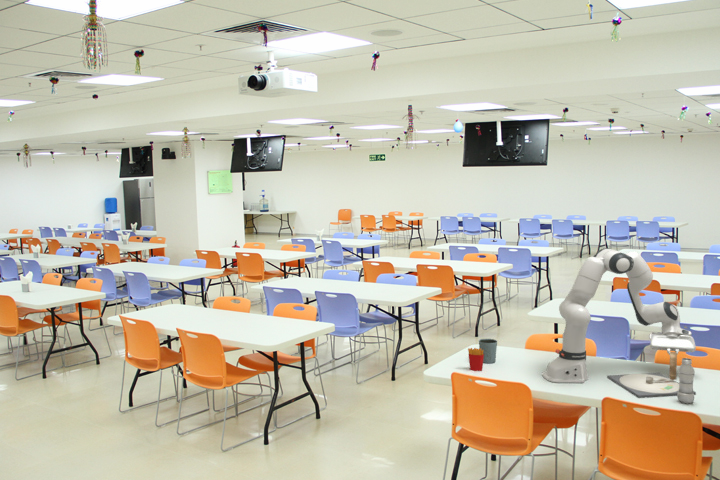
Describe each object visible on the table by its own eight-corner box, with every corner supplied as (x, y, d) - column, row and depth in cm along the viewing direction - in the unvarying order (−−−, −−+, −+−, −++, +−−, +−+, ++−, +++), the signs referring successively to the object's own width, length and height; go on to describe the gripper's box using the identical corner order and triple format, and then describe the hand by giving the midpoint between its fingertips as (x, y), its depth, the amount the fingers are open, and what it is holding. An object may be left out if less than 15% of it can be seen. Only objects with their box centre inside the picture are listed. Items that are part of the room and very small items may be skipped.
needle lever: (648, 383, 276) (649, 355, 275) (644, 381, 279) (645, 353, 278) (677, 381, 278) (678, 353, 276) (673, 379, 281) (674, 351, 279)
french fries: (484, 369, 309) (484, 347, 307) (483, 371, 305) (483, 349, 304) (468, 367, 312) (468, 346, 310) (467, 370, 308) (467, 348, 307)
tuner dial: (638, 398, 263) (638, 394, 263) (607, 377, 291) (607, 374, 291) (695, 394, 265) (695, 391, 265) (659, 374, 293) (659, 371, 293)
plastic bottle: (692, 406, 252) (693, 362, 250) (675, 402, 257) (676, 359, 255) (695, 401, 257) (697, 358, 255) (678, 398, 261) (680, 356, 259)
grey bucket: (476, 362, 321) (475, 341, 320) (483, 357, 329) (483, 337, 328) (493, 365, 315) (493, 344, 314) (499, 360, 323) (499, 339, 322)
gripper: (649, 329, 294) (650, 352, 286) (694, 331, 286) (697, 356, 278) (648, 335, 299) (649, 358, 291) (693, 338, 291) (695, 362, 283)
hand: (673, 357), depth 284 cm, fingers closed
